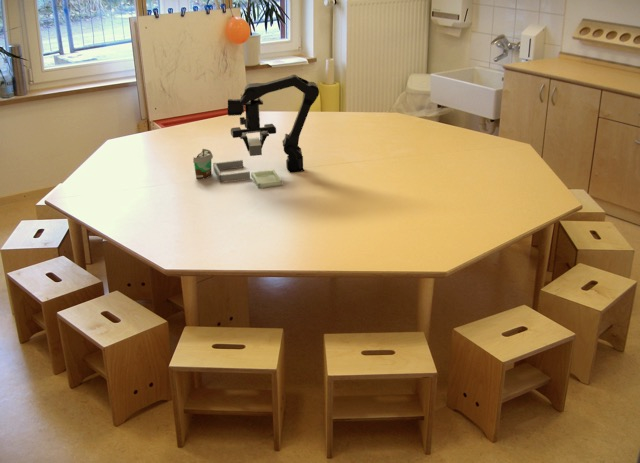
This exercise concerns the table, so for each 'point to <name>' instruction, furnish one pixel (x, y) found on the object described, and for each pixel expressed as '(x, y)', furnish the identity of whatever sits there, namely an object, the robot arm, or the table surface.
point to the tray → (266, 179)
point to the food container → (203, 164)
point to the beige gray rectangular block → (254, 146)
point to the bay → (233, 175)
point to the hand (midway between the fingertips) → (254, 149)
